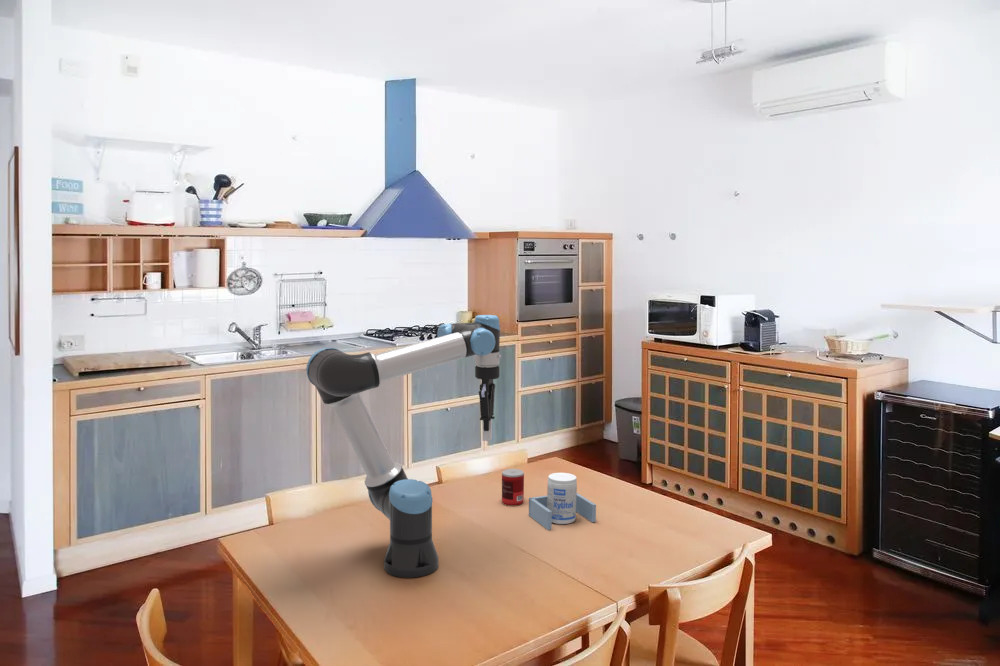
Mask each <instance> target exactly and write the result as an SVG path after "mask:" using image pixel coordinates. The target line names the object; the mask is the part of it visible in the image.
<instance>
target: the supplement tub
mask: <svg viewBox="0 0 1000 666" xmlns="http://www.w3.org/2000/svg"><path fill="white" fill-rule="evenodd" d="M547 478H548V479H547V494H546V495H547V508H548V509H549V510H550V511H552V523H554V524H557V525H568V524H571V523H574V522H575V521H576V517H577V512H576V494H577V493H578V492H577V491H578V490H577V489H578V487H577V486H578V485H577V484H578V483H577V482H578V481H577V476H576V475H575V474H572V473H569V472H553V473H550V474H549V475H548V476H547Z"/></svg>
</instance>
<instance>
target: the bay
mask: <svg viewBox="0 0 1000 666" xmlns="http://www.w3.org/2000/svg"><path fill="white" fill-rule="evenodd" d="M578 513H579V516H582V518H584V517H585V520H587V519H588V521H589V522H590V521H591V523H592V524H593V522H595V523H596V522H597V521H596V520H597V504H596V503H594V502H593V501H591V500H589V499H588V498H586V497H585V496H583V495H581V494H579V493H578V492H577V494H576V514H578ZM528 516H529V517H530V518H532V519H533V520H534V521H535V522H537V523H538V524H539V525H540V526H542V527H543V528H544V529H546V530H548V531H551V530H552V523H553V522H552V511H550V510H549V509H548V508H547V494H546V495H540V496H533V497H529V498H528Z"/></svg>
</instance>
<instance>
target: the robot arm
mask: <svg viewBox="0 0 1000 666" xmlns="http://www.w3.org/2000/svg"><path fill="white" fill-rule="evenodd" d="M500 325H501V324H500V317H498V316H497V315H495V314H479V315H476V316H475V318H474V321H473V322H463V323H461V322H460V323H459V322H458V323H451V322H448V323H445V324H440V325H439V327H438V330H437V332H436V333H437V334H436V335H437V336H436V337H435V338H431V339H427V340H423V341H420V342H416V343H412V344H408V345H403V346H401V347H398V348H393V349H390V350H387V351H382V352H379V353H376V354H374V353H372V352H370V351H368V352H365V353H359V354H348V353H345V352H344V351H342V350H340V349H338V348H335V347H325V348H320V349H318V350H317V351H315V352H314V353H313V354H312V355H311V356H310V357H309V359H308V361H307V364H306V367H305V368H306V369H305V370H306V371H305V372H306V376H307V379H308V380H309V382H310V383H311V384H312V385H313V386H315V389H316V390H317V392H318V394H319V396H320V398H321V400H322V402H323V404H324V405H326V406H329V407H331V409H332V410H333V412H334V414H335V416H336V418H337V419H338V422H339V423H340V425H341V428H342V430H343V431H344V433H345V435H346V438H347V439H348V442H349V443H350V446H351V447H352V449H353V451H354V453H355V455H356V457H357V459H358V461H359V464H360V465H361V467H362V469H363V471H364V474H365V475H366V477H365V479H364V486H365V487H366V489H367V493H368V498H369V500H370V502H371V504H372V505H373V507H374V508H375V509H376V510H377V511H379V512H381V513H382V514H383V515H384V516H385V517H386V518H387V519H388V520H389V536H390V537H389V544H388V546H387V550H386V553H385V556H384V559H383V568H384V571H385V572H386V573H387V574H388V575H391V576H394V577H398V578H404V579H405V578H407V579H408V578H409V579H411V578H412V579H413V578H419V577H424V576H427V575H430V574H433V573H434V572H435V571H437V570H438V568H439V555H438V552H437V550H436V546H435V543H434V540H433V494H432V489H431V487H430V486H429V484H427V483H425V482H424V481H422V480H417V479H413V478H411V479H409V478H408V476H407V474H406V472H405V470H404V468H403V466H402V464H401V463H399V462H397V461H394V460H393V457H392V456H391V454H390V452H389V450H388V447H387V446H386V444H385V441H384V440H383V438H382V435H381V433H380V431H379V430H378V427H377V425H376V423H375V421H374V418H373V417H372V415H371V413H370V410H369V408H368V406H367V404H366V402H365V400H364V398H363V396H362V395H361V393H362V392H363V393H364V392H366V391H369V390H372V389H376V388H378V387H380V386H381V384H382V382H386V381H389V380H393V379H396V378H399V377H403V376H406V375H410V374H413V373H416V372H420V371H424V370H427V369H430V368H434V367H437V366H441V365H445V364H447V363H451V362H454V361H458V360H461V359H465V358H468V357H472V356H474V364H475V365H476V366H475V367H474V377H475V378H476V379H477V380H480V381H481V382H480V384H479V390H478V396H479V410H480V417H479V421H482V422H481V423H482V429H481V430H482V433H481V434H482V435H481V436H482V441H483V442H492V440H493V420H495V416H494V414H495V413H494V410H495V393H496V384H495V383H494V380H498V379H499V378H500V366H499V364H500V359H501V358H502V355H501V354H500V341H501V340H500V336H501V335H500V333H501V328H500V327H501V326H500Z"/></svg>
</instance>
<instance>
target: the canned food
mask: <svg viewBox="0 0 1000 666" xmlns="http://www.w3.org/2000/svg"><path fill="white" fill-rule="evenodd" d="M524 487H525V472H524V471H523V470H522V469H517V468H508V469H507V468H506V469H505V470H503V471H501V502H502V504H503V503H504V504H503V505H505V504H506V506H508V505H518V506H521V505H522V504H524V501H525V500H524V498H525V496H524V495H525V488H524ZM520 504H521V505H520Z"/></svg>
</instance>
